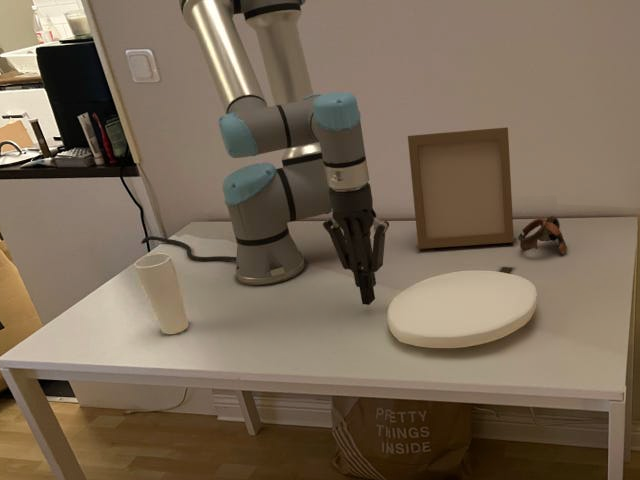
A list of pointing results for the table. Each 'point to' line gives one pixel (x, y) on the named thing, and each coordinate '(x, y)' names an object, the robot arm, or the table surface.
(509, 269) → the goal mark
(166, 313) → the drinking glass
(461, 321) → the plate
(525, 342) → the table surface
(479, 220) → the photo frame
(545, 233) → the brown curved piece
